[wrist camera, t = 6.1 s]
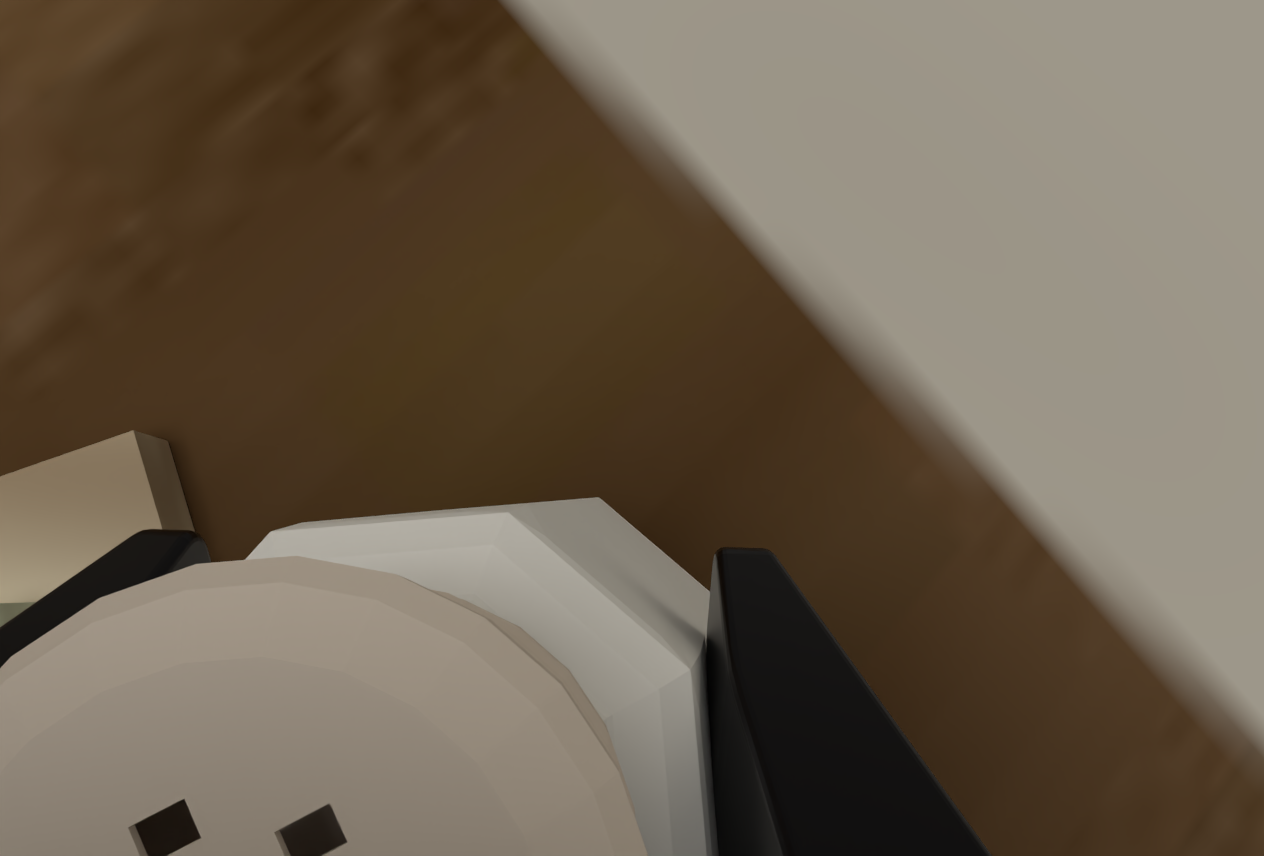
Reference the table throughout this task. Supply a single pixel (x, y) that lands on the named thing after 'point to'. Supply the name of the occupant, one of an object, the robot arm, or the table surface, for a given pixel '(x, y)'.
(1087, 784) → the table surface
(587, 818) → the salt shaker
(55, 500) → the plinth
